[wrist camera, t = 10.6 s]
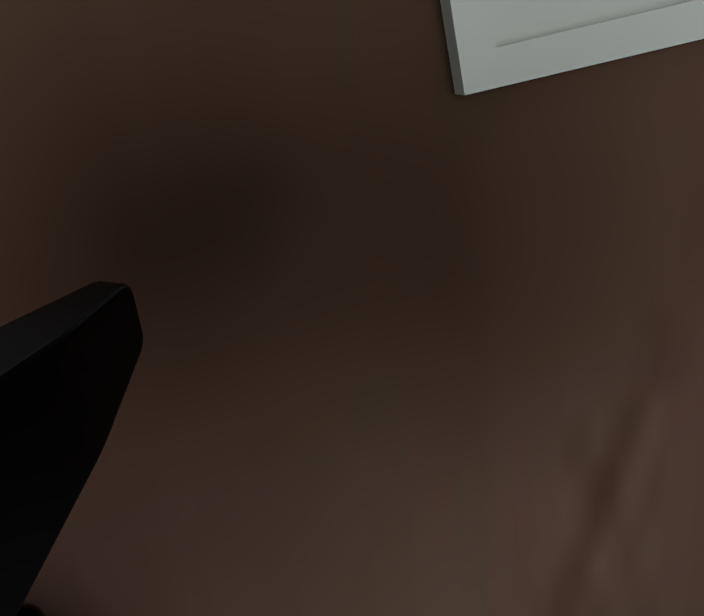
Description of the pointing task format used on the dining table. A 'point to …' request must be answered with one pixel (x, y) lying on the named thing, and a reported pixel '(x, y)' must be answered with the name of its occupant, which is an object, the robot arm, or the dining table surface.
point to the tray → (557, 35)
